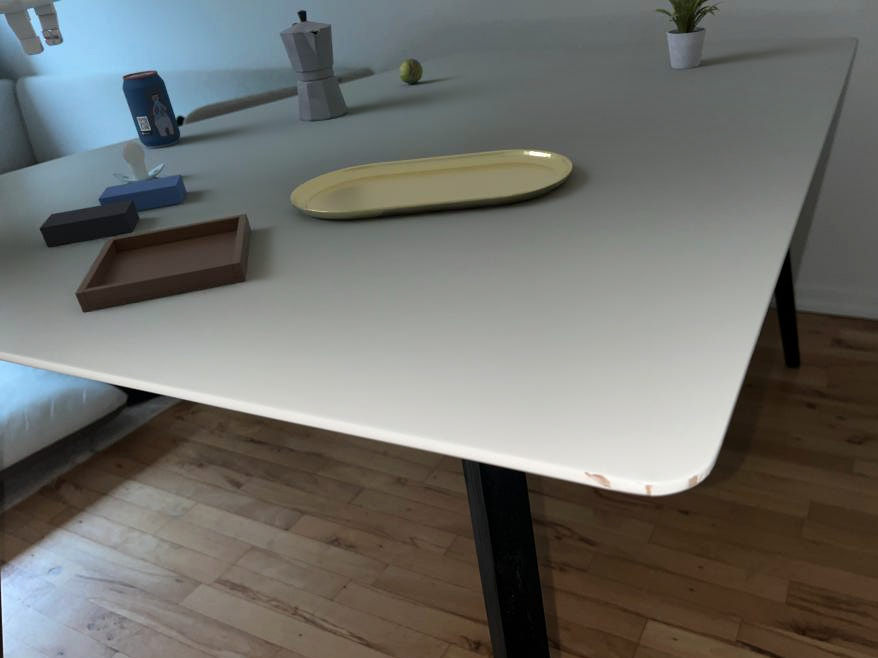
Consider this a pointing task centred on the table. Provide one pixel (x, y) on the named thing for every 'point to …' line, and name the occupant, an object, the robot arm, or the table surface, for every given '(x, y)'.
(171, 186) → the pad blue
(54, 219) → the pad charcoal
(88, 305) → the tray
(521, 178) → the serving platter
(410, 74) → the lime
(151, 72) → the soda can
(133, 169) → the pacifier
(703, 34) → the house plant
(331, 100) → the coffeepot
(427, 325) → the table surface
